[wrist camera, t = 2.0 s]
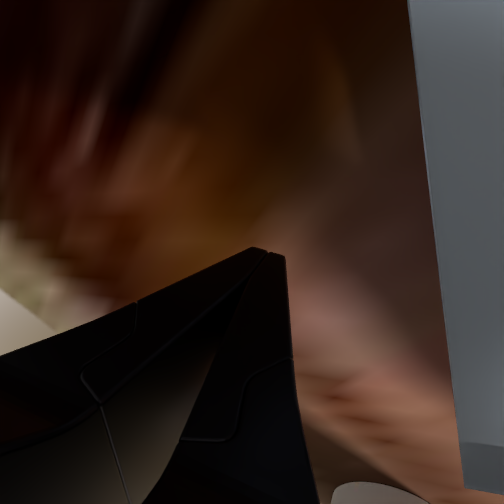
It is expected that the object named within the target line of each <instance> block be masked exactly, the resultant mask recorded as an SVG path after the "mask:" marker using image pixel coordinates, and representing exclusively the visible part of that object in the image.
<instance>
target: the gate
mask: <svg viewBox="0 0 504 504" xmlns="http://www.w3.org/2000/svg"><path fill="white" fill-rule="evenodd" d="M407 3H408V12H409V20H410V29H411V38H412V46H413V55H414V64H415V72H416V81H417V90H418V98H419V107H420V116H421V124H422V133H423V142H424V150H425V159H426V168H427V176H428V185H429V193H430V202H431V211H432V219H433V228H434V237H435V245H436V254H437V263H438V271H439V280H440V289H441V297H442V305H443V314H444V322H445V330H446V338H447V347H448V355H449V363H450V371H451V380H452V388H453V396H454V405H455V413H456V421H457V429H458V438H459V446H460V454H461V463H462V471H463V479H464V487H465V488H468V489H473V490H479V491H484V492H490V493H495V494H501V495H504V0H407Z"/></svg>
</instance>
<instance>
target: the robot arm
mask: <svg viewBox="0 0 504 504" xmlns="http://www.w3.org/2000/svg"><path fill="white" fill-rule="evenodd" d="M0 504H320V500H319V496H318V492H317V487H316V483H315V478H314V474H313V470H312V465H311V461H310V457H309V452H308V448H307V443H306V439H305V435H304V430H303V426H302V420H301V415H300V410H299V404H298V398H297V390H296V382H295V372H294V361H293V349H292V336H291V323H290V310H289V297H288V284H287V271H286V259H285V256H283V255H280V254H277V253H273V252H269V253H268V252H267V251H266V250H263V249H260V248H256V247H250V248H248V249H246V250H244V251H242V252H240V253H237V254H235V255H233V256H231V257H229V258H227V259H225V260H223V261H220V262H218V263H216V264H214V265H212V266H210V267H208V268H206V269H203V270H201V271H199V272H197V273H195V274H193V275H191V276H188V277H186V278H184V279H182V280H180V281H178V282H176V283H174V284H171V285H169V286H167V287H165V288H163V289H161V290H159V291H157V292H154V293H152V294H150V295H148V296H146V297H144V298H142V299H140V300H138V301H137V302H136V303H135V302H133V303H131V304H129V305H127V306H124V307H122V308H120V309H118V310H116V311H114V312H111V313H109V314H107V315H104V316H102V317H100V318H98V319H95V320H93V321H91V322H88V323H85V324H83V325H80V326H78V327H75V328H73V329H70V330H68V331H65V332H63V333H60V334H57V335H55V336H52V337H50V338H47V339H44V340H41V341H39V342H36V343H33V344H30V345H28V346H25V347H22V348H20V349H17V350H14V351H12V352H9V353H6V354H4V355H1V356H0Z"/></svg>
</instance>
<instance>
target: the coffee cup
mask: <svg viewBox="0 0 504 504" xmlns="http://www.w3.org/2000/svg"><path fill="white" fill-rule="evenodd" d="M331 504H429V503H428V502H426V501H424V500H423V499H421V498H419V497H417V496H415V495H413V494H410V493H408V492H406V491H403V490H400V489H397V488H394V487H391V486H387V485H383V484H378V483H372V482H350V483H345V484H342V485H340V486H339V487H337V488H336V489H335V490H334V492H333V496H332V500H331Z"/></svg>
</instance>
